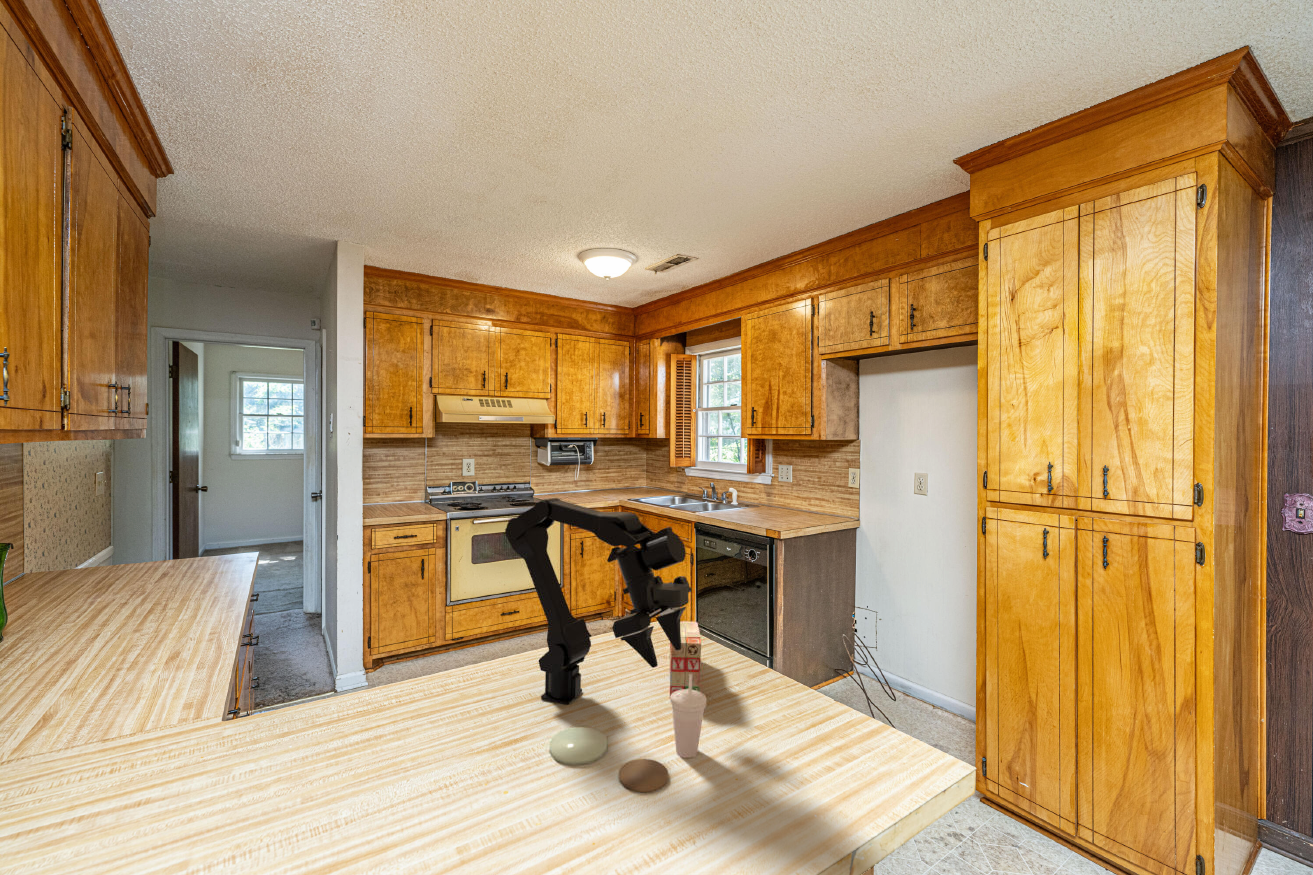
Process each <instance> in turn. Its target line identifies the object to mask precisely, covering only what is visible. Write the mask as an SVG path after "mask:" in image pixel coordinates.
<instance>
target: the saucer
mask: <svg viewBox="0 0 1313 875" xmlns="http://www.w3.org/2000/svg"><path fill="white" fill-rule="evenodd" d="M548 750H549V753H550V756H551V758H553V759H554V760H555V761H557V762H558V763H561V764H565V765H570V766H583V765H587V764H591V763H594V762H597V761H598V760H601V758H603V757H604V755H605V754H606V752H607V750H608V739H607V737H606V735H605V734H604V733H602V732H601V731H599V730H598V729H595V728H591V727H584V726H582V727H581V726H580V727H579V726H578V727H576V726H575V727H571V728H567V729H563V730H561V731H559V732H557V733H556V734H555V735H553V737H552V738H551V739H550V741H549V749H548Z"/></svg>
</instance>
